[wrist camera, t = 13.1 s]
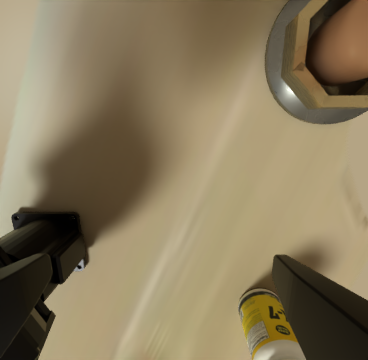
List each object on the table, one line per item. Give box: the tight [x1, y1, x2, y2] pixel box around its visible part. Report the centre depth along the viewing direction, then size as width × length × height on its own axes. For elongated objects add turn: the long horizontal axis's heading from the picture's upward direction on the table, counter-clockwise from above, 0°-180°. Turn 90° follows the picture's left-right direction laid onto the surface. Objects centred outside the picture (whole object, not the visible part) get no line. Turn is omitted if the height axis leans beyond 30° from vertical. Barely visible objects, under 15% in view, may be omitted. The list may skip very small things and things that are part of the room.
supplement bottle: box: [238, 289, 306, 360], centre depth 19 cm, size 5×5×8 cm
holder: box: [265, 0, 368, 124], centre depth 16 cm, size 11×11×3 cm
